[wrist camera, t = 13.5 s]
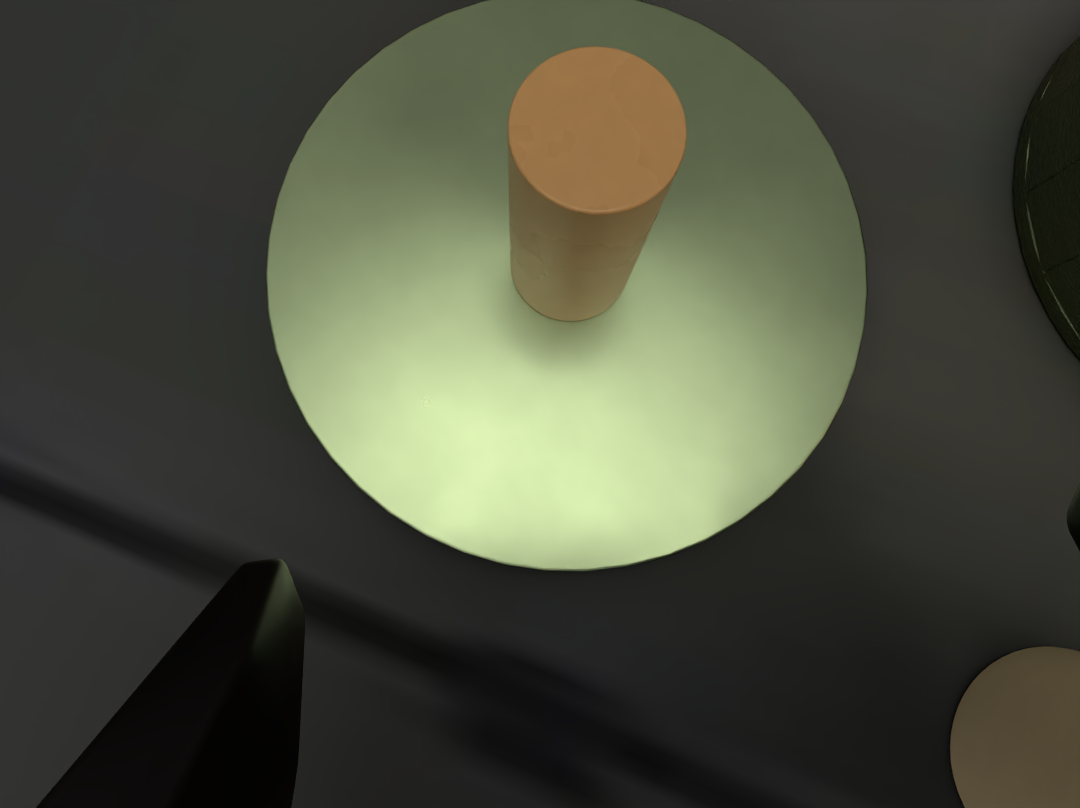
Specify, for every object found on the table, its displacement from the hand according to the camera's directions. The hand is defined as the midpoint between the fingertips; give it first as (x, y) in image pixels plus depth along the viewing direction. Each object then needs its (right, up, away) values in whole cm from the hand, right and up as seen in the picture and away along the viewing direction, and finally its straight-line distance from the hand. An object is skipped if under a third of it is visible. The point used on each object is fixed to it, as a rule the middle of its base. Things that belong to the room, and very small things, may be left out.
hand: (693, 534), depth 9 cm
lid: (-1, +4, +9) cm, 10 cm away
